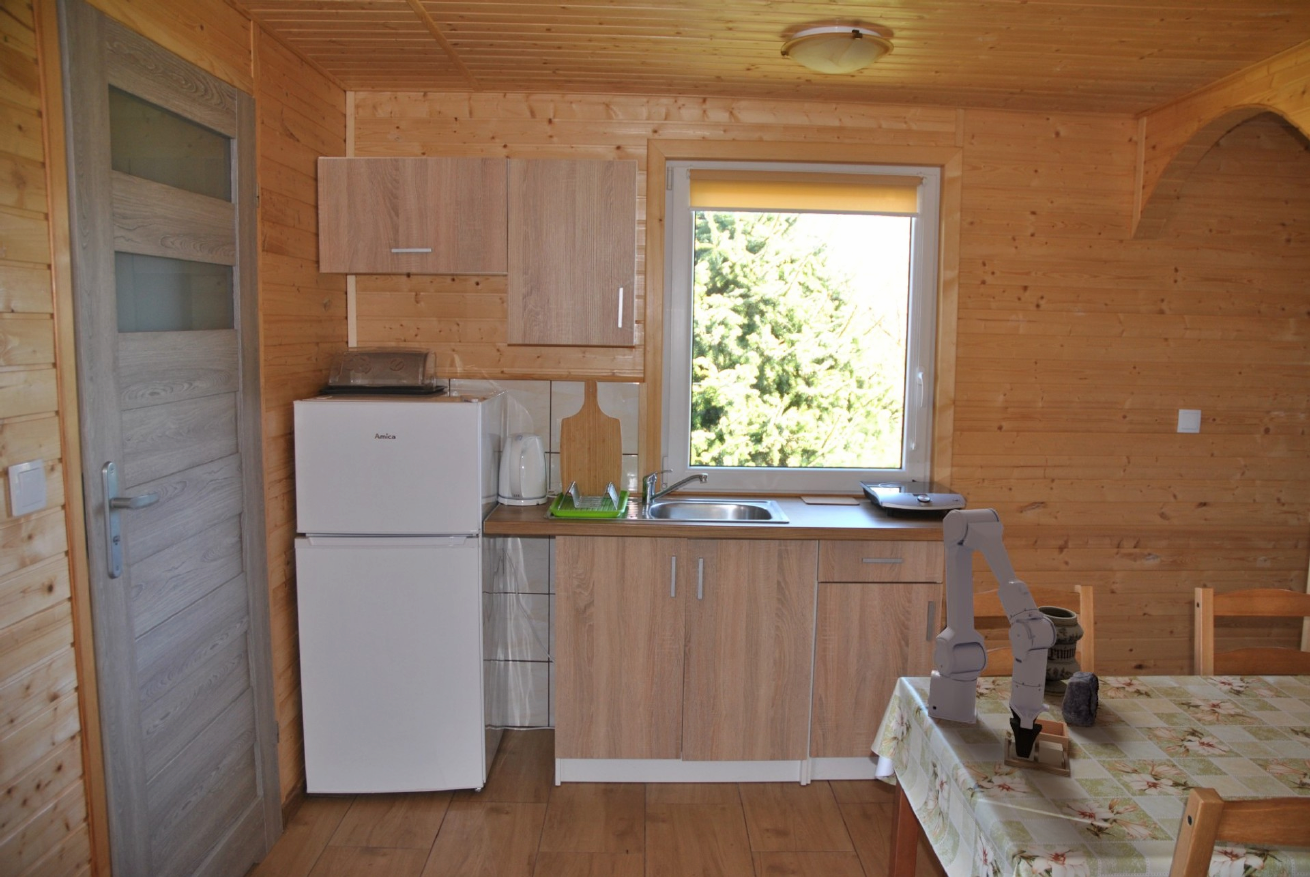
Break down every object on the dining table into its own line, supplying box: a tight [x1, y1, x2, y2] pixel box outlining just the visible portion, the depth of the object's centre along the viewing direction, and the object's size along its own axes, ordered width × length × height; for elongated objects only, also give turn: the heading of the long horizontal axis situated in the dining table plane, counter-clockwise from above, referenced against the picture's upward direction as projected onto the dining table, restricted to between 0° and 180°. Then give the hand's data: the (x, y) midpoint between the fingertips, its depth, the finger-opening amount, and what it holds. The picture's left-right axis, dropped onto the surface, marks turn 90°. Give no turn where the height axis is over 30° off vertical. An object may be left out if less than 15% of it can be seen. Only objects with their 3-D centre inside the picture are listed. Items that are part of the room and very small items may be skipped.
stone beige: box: [1038, 740, 1063, 766], centre depth 172 cm, size 4×3×3 cm
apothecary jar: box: [1037, 605, 1085, 697], centre depth 208 cm, size 12×12×18 cm
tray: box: [1004, 737, 1070, 777], centre depth 173 cm, size 11×10×1 cm
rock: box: [1060, 670, 1100, 727], centre depth 190 cm, size 10×6×10 cm, turn 142°
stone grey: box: [1011, 735, 1035, 761], centre depth 174 cm, size 4×3×3 cm
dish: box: [1035, 717, 1070, 753], centre depth 181 cm, size 10×8×3 cm
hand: (1022, 749), depth 174 cm, fingers open, 6 cm apart
